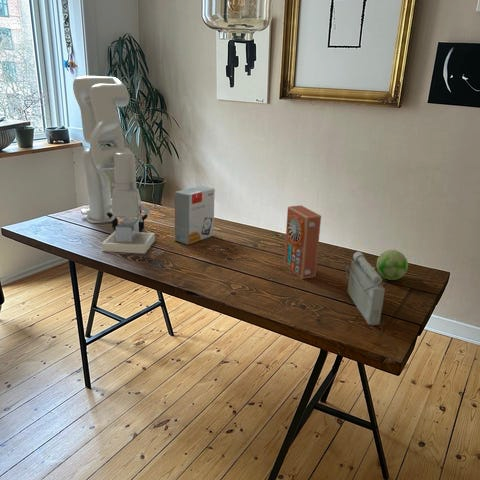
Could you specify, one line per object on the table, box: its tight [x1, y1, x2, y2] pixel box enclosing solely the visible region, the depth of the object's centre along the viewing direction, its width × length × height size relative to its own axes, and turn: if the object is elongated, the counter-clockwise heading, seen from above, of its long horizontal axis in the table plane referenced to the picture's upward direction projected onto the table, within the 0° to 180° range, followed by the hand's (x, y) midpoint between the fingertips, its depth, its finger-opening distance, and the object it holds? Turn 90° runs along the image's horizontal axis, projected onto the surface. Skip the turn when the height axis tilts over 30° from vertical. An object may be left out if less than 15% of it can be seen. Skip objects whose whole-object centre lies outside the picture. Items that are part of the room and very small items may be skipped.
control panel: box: [283, 205, 322, 280], centre depth 152 cm, size 21×7×15 cm
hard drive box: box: [173, 185, 215, 246], centre depth 179 cm, size 16×8×20 cm, turn 143°
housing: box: [116, 217, 141, 243], centre depth 171 cm, size 10×6×6 cm, turn 174°
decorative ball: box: [376, 249, 409, 281], centre depth 150 cm, size 10×10×10 cm
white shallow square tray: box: [101, 230, 156, 255], centre depth 172 cm, size 16×14×3 cm
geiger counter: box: [345, 251, 386, 326], centre depth 132 cm, size 14×6×25 cm
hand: (128, 230), depth 171 cm, fingers open, 9 cm apart
